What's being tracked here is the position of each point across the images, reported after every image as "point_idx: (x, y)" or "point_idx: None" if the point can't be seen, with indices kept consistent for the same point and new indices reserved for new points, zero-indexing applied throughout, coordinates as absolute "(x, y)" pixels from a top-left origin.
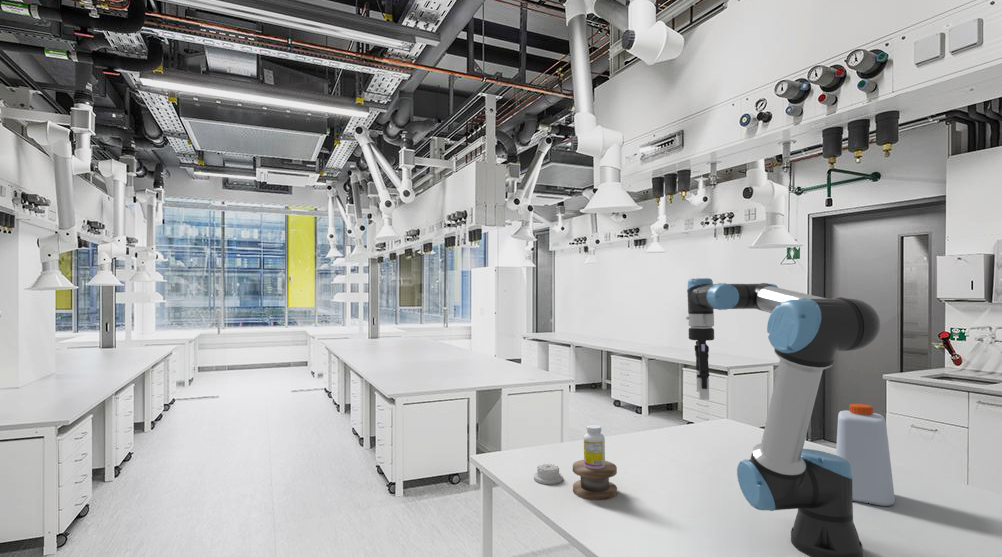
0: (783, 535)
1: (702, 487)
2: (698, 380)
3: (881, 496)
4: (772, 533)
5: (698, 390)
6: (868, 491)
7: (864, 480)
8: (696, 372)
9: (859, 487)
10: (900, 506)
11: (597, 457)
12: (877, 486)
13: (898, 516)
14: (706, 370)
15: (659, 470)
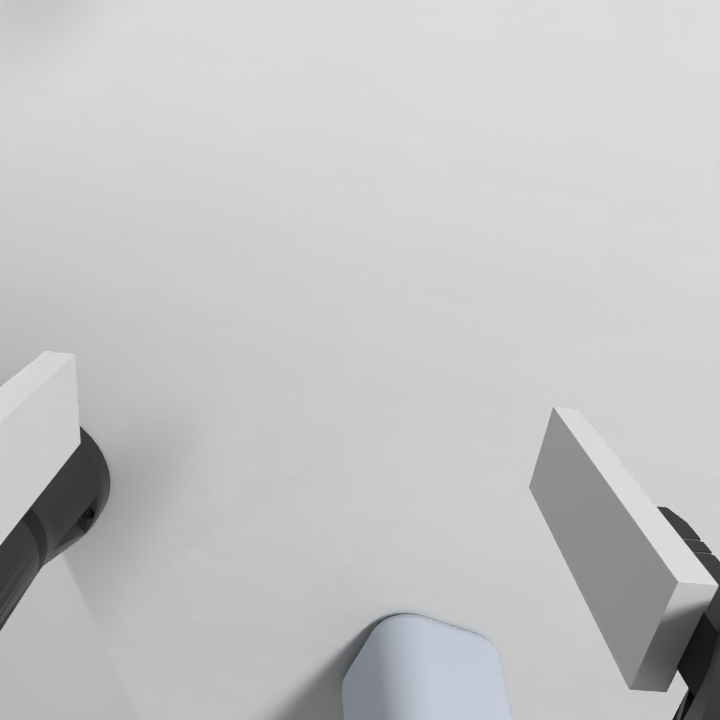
0: None
1: (440, 233)
2: (600, 502)
3: (343, 698)
4: None
5: (552, 427)
6: (354, 686)
7: (361, 709)
8: (664, 565)
9: (364, 679)
10: None
11: None
12: (347, 717)
13: (287, 680)
14: None
15: (653, 67)
